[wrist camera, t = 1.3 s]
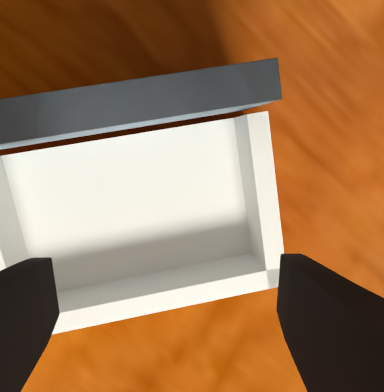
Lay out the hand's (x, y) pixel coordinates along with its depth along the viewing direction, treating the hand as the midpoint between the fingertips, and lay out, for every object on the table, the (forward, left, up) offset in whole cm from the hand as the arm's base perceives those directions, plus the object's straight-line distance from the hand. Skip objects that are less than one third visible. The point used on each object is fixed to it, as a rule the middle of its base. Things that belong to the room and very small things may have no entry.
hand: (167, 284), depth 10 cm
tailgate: (-1, +5, -8) cm, 9 cm away
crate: (-1, +1, -9) cm, 9 cm away
